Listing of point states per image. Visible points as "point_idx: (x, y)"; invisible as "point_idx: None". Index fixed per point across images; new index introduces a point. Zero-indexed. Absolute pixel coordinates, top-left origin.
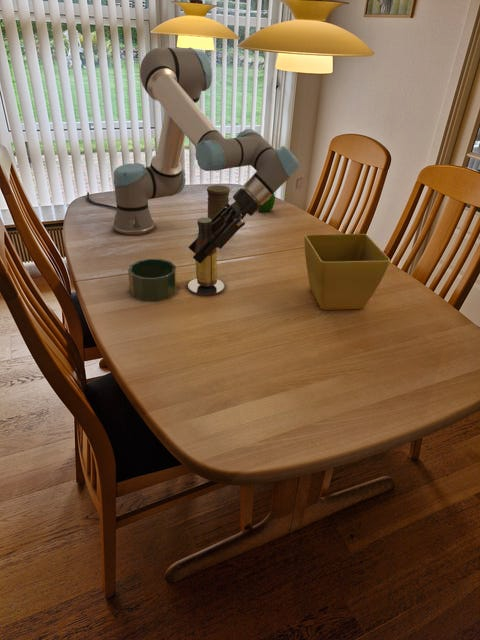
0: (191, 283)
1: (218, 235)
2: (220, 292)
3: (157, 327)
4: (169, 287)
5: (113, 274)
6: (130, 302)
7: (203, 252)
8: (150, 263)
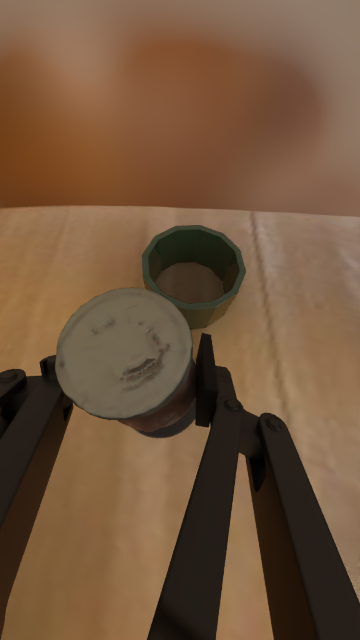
0: None
1: (19, 418)
2: None
3: (72, 264)
4: None
5: (264, 251)
6: None
7: None
8: (236, 276)
